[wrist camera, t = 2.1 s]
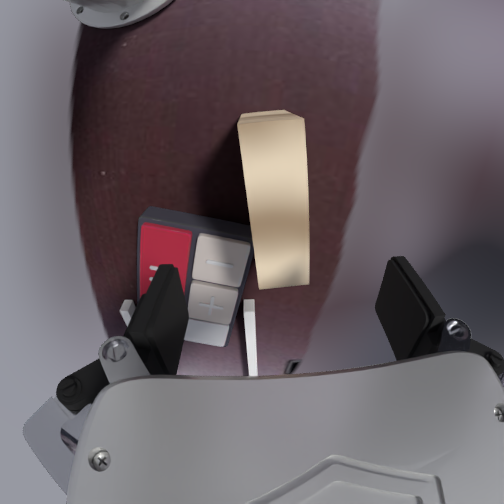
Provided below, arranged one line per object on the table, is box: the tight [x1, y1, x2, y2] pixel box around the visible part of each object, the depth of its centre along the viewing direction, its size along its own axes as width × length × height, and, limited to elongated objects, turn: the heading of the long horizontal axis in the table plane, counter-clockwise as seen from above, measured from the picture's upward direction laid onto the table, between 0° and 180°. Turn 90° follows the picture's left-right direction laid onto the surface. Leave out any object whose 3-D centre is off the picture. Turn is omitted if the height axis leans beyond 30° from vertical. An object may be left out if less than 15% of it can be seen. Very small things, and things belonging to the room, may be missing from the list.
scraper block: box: [237, 110, 309, 289], centre depth 20 cm, size 11×4×9 cm, turn 7°
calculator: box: [137, 206, 254, 347], centre depth 28 cm, size 11×4×15 cm
